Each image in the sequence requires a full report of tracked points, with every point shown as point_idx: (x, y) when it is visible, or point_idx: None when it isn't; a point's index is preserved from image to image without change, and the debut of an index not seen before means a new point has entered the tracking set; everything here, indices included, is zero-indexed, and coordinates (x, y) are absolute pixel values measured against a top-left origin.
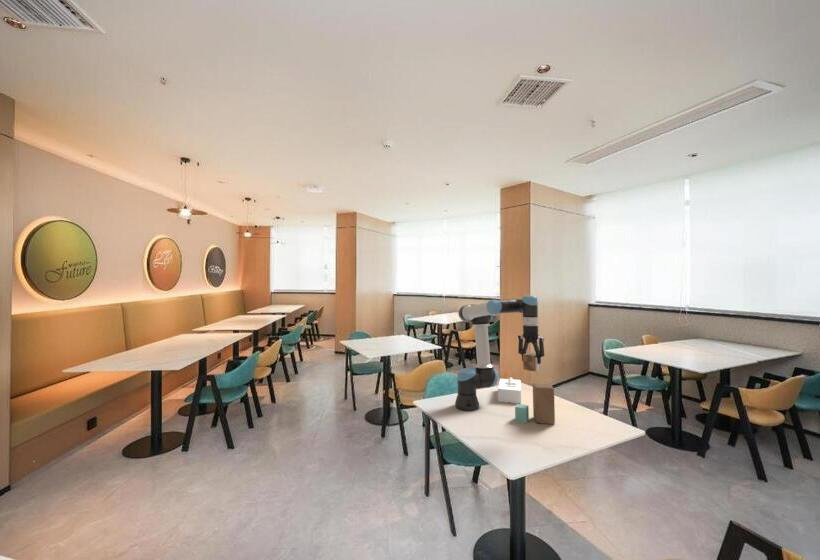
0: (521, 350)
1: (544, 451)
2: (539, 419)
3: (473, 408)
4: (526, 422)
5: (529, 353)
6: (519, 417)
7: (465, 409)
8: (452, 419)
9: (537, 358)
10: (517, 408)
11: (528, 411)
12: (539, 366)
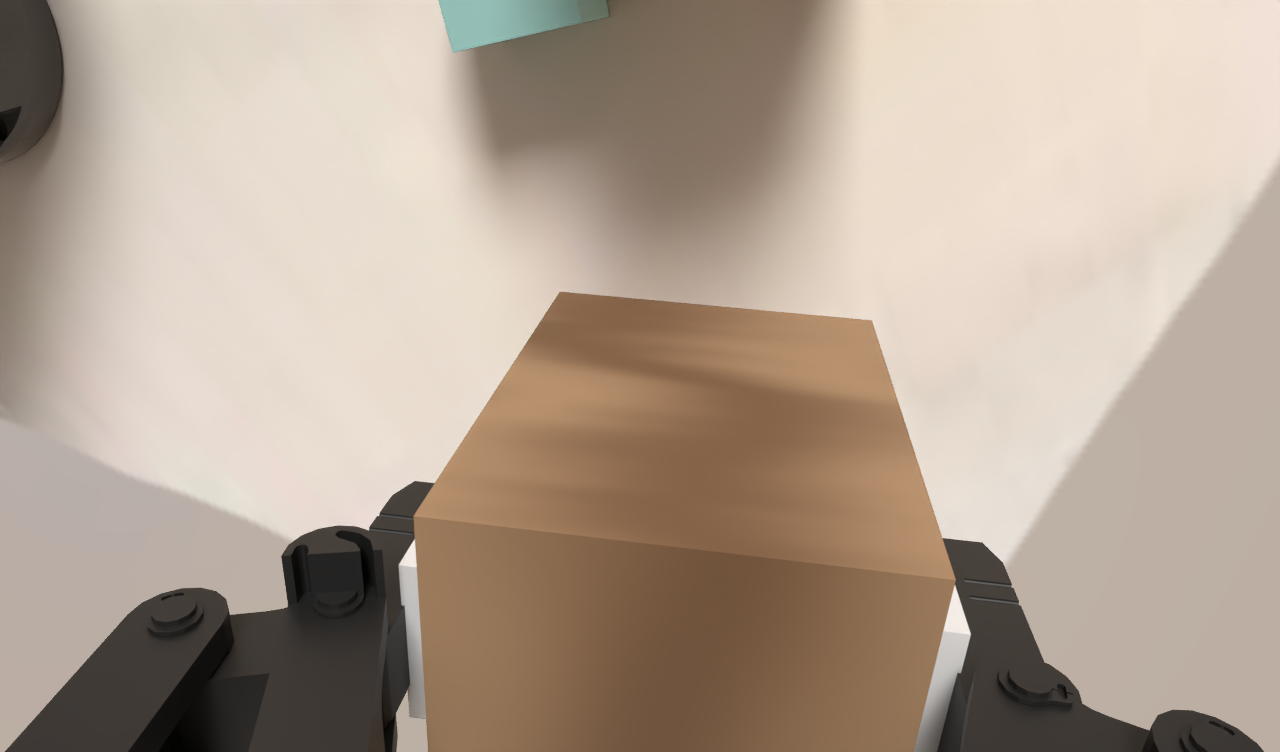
0: (151, 697)
1: (942, 450)
2: None
3: (45, 94)
4: (606, 6)
5: (550, 673)
6: (531, 34)
7: (13, 155)
8: (114, 390)
9: (938, 726)
10: (484, 44)
11: None
12: (881, 353)
